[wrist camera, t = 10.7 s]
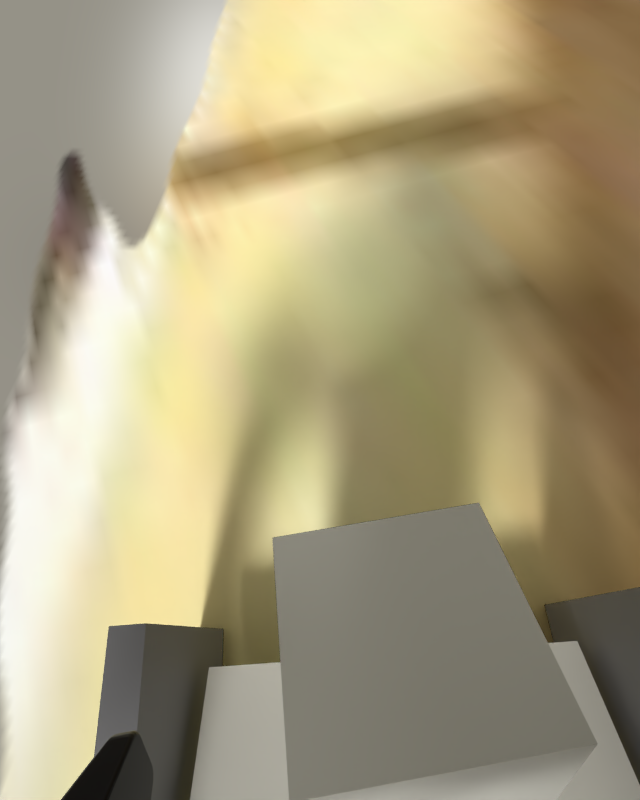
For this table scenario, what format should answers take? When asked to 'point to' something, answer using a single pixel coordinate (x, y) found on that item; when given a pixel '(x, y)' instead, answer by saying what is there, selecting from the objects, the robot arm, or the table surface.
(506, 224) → the table surface
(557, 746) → the grey rectangular block
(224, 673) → the trapdoor
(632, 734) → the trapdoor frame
